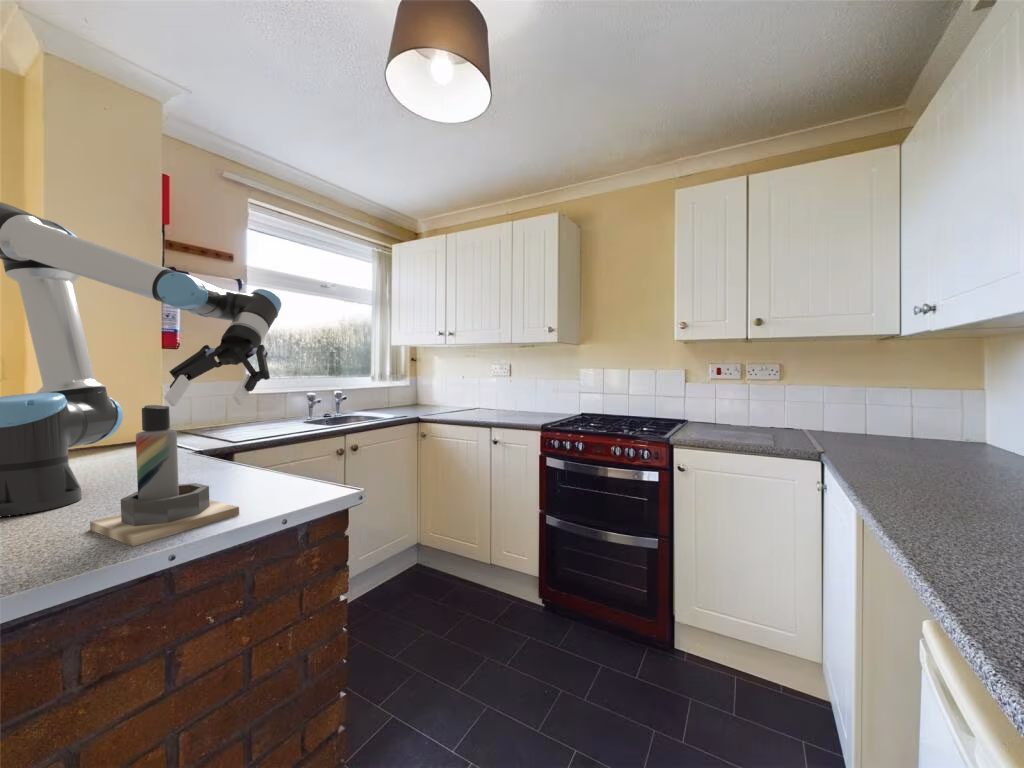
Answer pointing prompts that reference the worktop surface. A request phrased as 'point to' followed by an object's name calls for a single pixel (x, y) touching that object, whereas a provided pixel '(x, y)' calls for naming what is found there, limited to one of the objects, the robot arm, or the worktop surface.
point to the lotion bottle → (156, 455)
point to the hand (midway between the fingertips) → (203, 401)
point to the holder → (163, 515)
